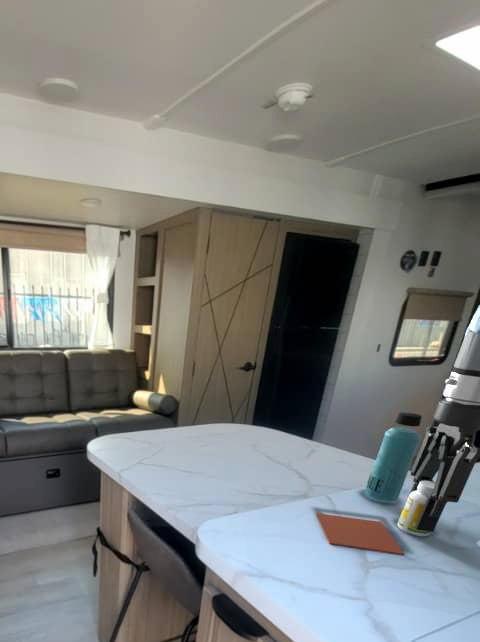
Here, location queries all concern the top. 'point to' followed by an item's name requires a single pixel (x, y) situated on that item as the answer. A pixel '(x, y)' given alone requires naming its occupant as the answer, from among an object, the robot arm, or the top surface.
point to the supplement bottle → (415, 508)
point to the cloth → (358, 533)
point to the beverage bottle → (394, 459)
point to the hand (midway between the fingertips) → (416, 521)
